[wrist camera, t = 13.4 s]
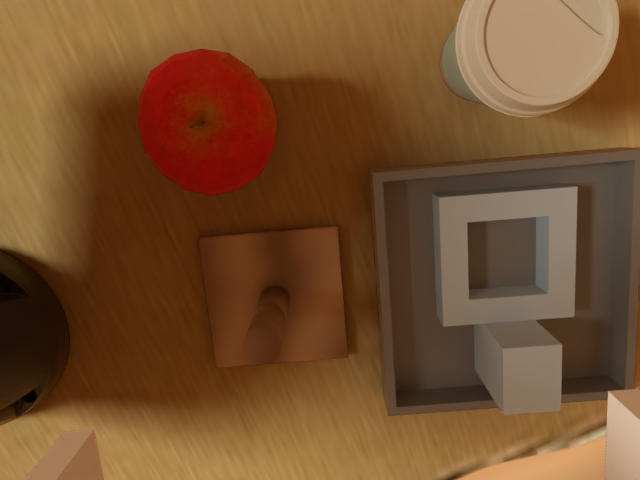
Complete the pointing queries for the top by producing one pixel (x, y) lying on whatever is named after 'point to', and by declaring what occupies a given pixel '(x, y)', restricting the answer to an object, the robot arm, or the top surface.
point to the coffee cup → (529, 52)
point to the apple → (207, 121)
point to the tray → (506, 275)
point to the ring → (510, 291)
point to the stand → (274, 296)
